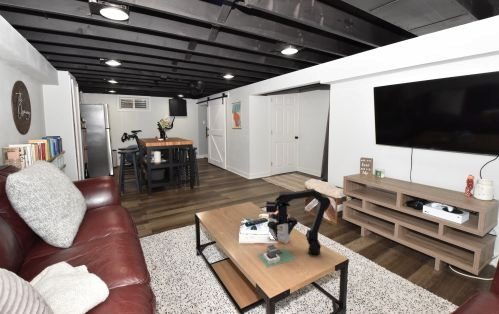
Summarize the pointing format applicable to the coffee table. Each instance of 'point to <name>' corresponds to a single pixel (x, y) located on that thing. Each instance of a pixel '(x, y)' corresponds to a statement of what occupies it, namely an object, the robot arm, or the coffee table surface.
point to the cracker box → (280, 231)
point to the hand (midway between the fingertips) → (282, 235)
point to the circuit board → (277, 258)
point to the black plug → (271, 251)
